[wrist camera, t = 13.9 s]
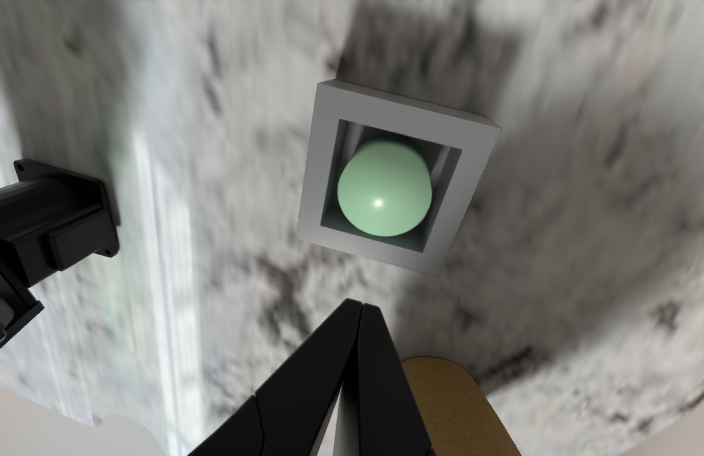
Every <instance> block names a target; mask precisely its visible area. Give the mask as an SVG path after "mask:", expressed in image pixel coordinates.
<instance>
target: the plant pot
mask: <svg viewBox="0 0 704 456" xmlns="http://www.w3.org/2000/svg"><path fill="white" fill-rule="evenodd" d="M401 364H402V367H403V369H404V372H405V374H406V377H407V379H408V382H409V385H410V387H411V390H412V392H413V395H414V398H415V400H416V403H417V405H418V408H419V410H420V413H421V416H422V418H423V421H424V423H425V426H426V429H427V431H428V434H429V436H430V439H431V441H432V444H433V446H432V448H433V449H435V451H436V454H437V456H521V454H520V452H519V450H518V449H517V447H516V445H515V444H514V442H513V440H512V439H511V437H510V435H509V434H508V432H507V430H506V429H505V427H504V425H503V424H502V422H501V421H500V419H499V417H498V416H497V414H496V413H495V411H494V409H493V408H492V406H491V405H490V403H489V402H488V400H487V399H486V397H485V396H484V394H483V393H482V391H481V390H480V389H479V387H478V386H477V384H476V383H475V381H474V380H473V378H472V377H471V376H470V374H469V373H468V372H467V371H466V370H464V369H463V368H462V367H460V366H459V365H457V364H455V363H453V362H450V361H447V360H444V359H440V358H434V357H417V358H412V359H408V360H405V361H402V362H401Z"/></svg>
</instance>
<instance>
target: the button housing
mask: <svg viewBox="0 0 704 456" xmlns="http://www.w3.org/2000/svg"><path fill="white" fill-rule="evenodd" d="M501 130H502V128H500V127H499V126H498V125H496V124H495V123H494V122H492V121H491V120H490V119H488V118H487V117H486V116H484V115H479V114H475V113H471V112H467V111H463V110H459V109H455V108H451V107H447V106H443V105H439V104H435V103H431V102H427V101H423V100H419V99H414V98H410V97H406V96H402V95H398V94H394V93H390V92H386V91H382V90H378V89H374V88H370V87H366V86H362V85H358V84H353V83H349V82H345V81H341V80H337V79H332V80H328V81H324V82H320V83H317V90H316V97H315V104H314V111H313V118H312V126H311V133H310V140H309V147H308V154H307V161H306V169H305V176H304V183H303V190H302V197H301V204H300V211H299V219H298V226H297V233H296V239H299V240H303V241H306V242H310V243H314V244H317V245H321V246H325V247H329V248H332V249H336V250H340V251H343V252H347V253H351V254H354V255H358V256H362V257H365V258H369V259H373V260H376V261H380V262H384V263H387V264H391V265H395V266H398V267H402V268H406V269H409V270H413V271H417V272H421V273H424V274H428V275H432V276H435V277H438V274H439V272H440V270H441V267H442V265H443V263H444V261H445V258H446V256H447V254H448V251H449V249H450V247H451V245H452V242H453V240H454V238H455V235H456V233H457V231H458V228H459V226H460V224H461V222H462V219H463V217H464V215H465V212H466V210H467V208H468V206H469V203H470V201H471V199H472V196H473V194H474V192H475V189H476V187H477V185H478V183H479V180H480V178H481V176H482V173H483V171H484V169H485V167H486V164H487V162H488V160H489V157H490V155H491V153H492V150H493V148H494V146H495V144H496V141H497V139H498V137H499V134H500V132H501ZM387 134H389V135H398V136H401V137H404V138H406V139H408V140H410V141H412V142H413V143H414V144H415V145H417V146H418V147H419V149H420V150H421V151H422V153H423V154H424V156H425V158H426V160H427V164H428V169H429V176H430V183H431V189H432V197H431V203H430V206H429V209H428V211H427V213H426V215H425V216H424V218H423V219H422V220H421V222H420V223H418V224H417V225H416V226H415V227H414V228H412V229H411V230H409V231H407V232H405V233H402V234H399V235H395V236H377V235H372V234H369V233H366V232H364V231H362V230H360V229H359V228H357V227H356V226H354V225H353V224H352V223H351V222H350V221H349V220H348V219H347V217H346V216H345V215H344V213H343V211H342V209H341V207H340V204H339V200H338V183H339V180H340V177H341V174H342V172H343V171H344V169H345V167H346V166H347V164H348V163H349V161H350V159H351V158H352V156H353V154H354V153H355V151H356V150H357V149H358V148H359V147H360V146H361V145H362V144H363V143H364V142H366V141H367V140H369V139H371V138H373V137H376V136H380V135H387Z"/></svg>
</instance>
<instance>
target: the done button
mask: <svg viewBox="0 0 704 456" xmlns="http://www.w3.org/2000/svg"><path fill="white" fill-rule="evenodd" d="M431 197H432V189H431V183H430V176H429V169H428V164H427V160H426V158H425V156H424V154H423V153H422V151H421V150H420V149H419V147H418V146H417V145H415V144H414V143H413V142H412V141H410V140H408V139H406V138H404V137H401V136H398V135H389V134H387V135H380V136H376V137H373V138H371V139H369V140H367V141H366V142H364V143H363V144H362V145H361V146H360V147H359V148H358V149H357V150H356V151H355V153H354V154H353V156H352V158H351V159H350V161H349V163H348V164H347V166H346V167H345V169H344V171H343V172H342V174H341V177H340V180H339V183H338V200H339V204H340V207H341V209H342V211H343V213H344V215H345V216H346V217H347V219H348V220H349V221H350V222H351V223H352V224H353V225H354V226H356V227H357V228H359V229H360V230H362V231H364V232H366V233H369V234H372V235H377V236H395V235H399V234H402V233H405V232H407V231H409V230H411V229H412V228H414V227H415V226H416V225H417V224H418V223H420V222H421V220H422V219H423V218H424V216H425V215H426V213H427V211H428V209H429V206H430V203H431Z"/></svg>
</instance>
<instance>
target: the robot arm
mask: <svg viewBox="0 0 704 456" xmlns="http://www.w3.org/2000/svg"><path fill="white" fill-rule="evenodd" d="M14 167H15V170H16V173H17V176H18V179H19V182H18V183H15V184H12V185H8V186H5V187H2V188H0V348H2V347H3V346H4V345H5V344H6V343H7V342H8V341H9V340H10V339H11V338H12V337H14V336H15V335H16V334H17V333H18V332H19V331H20V330H21V329H22V328H23V327H24V326H26V325H27V324H28V323H29V322H30V321H31V320H32V319H33V318H34V317H35V316H36V315H38V314H39V313H40V312H41V311H42V310H43V309H44V308H45V307H44V306H43V304H42V303H41V302H40V301H37V300H36V298H35V297H34V296H33V295H32V293H31V292H30V291H29V289H28V288H30V287H32V286H34V285H35V284H37V283H39V282H40V281H42V280H44V279H45V278H47V277H49V276H50V275H52V274H54V273H55V272H57V271H64V270H66V269H67V268H69V267H71V266H72V265H74V264H76V263H77V262H79V261H81V260H82V259H84V258H86V257H87V256H89V255H91V254H92V253H95V254H99V255H102V256H106V257H113V256H115V255H116V254H117V253H118V249H117V244H116V239H115V234H114V229H113V224H112V219H111V214H110V208H109V203H108V198H107V193H106V188H105V185H104V184H103V182H102V181H101V180H99V179H96V178H92V177H89V176H85V175H81V174H78V173H74V172H70V171H66V170H63V169H59V168H55V167H52V166H48V165H44V164H41V163H37V162H33V161H29V160H26V159H20V160H16V161H14ZM341 386H342V387H341ZM340 389H341V392H340ZM339 393H340V399H339V406H338V415H337V424H336V432H335V441H334V450H333V456H437V454H436V451H435V449H433V448H432V446H433V444H432V441H431V439H430V436H429V434H428V431H427V429H426V426H425V423H424V421H423V418H422V416H421V413H420V410H419V408H418V405H417V403H416V400H415V398H414V395H413V392H412V390H411V387H410V385H409V382H408V379H407V377H406V374H405V372H404V369H403V367H402V364H401V361H400V359H399V356H398V354H397V351H396V348H395V346H394V343H393V341H392V338H391V336H390V333H389V330H388V328H387V325H386V323H385V320H384V317H383V315H382V312H381V310H380V308H379V307H378V306H375V305H371V304H368V303H364V304H363V305H362V302H360V301H357V300H353V299H350V298H347V299H345V300H344V301H343V302H342V303H341V304H340V305H339V306H338V307H337V308H336V309H335V310H334V311H333V312H332V313H331V315H330V316H329V317H328V318H327V319H326V320H325V321H324V322H323V323H322V324H321V325H320V326H319V327H318V328H317V329H316V330H315V331H314V332H313V333H312V334H311V335H310V336H309V337H308V338H307V339H306V340H305V341H304V342H303V343H302V344H301V345H300V346H299V347H298V348H297V349H296V350H295V351H294V352H293V353H292V354H291V355H290V356H289V357H288V359H287V360H286V361H285V362H284V363H283V364H282V365H281V366H280V367H279V368H278V369H277V370H276V371H275V372H274V373H273V374H272V375H271V376H270V377H269V378H268V379H267V380H266V381H265V382H264V383H263V384H262V385H261V386H260V387H259V388H258V389H257V390H256V391H255V394H254V395H251V396H250V397H249V398H248V399H247V400H246V401H245V402H244V403H243V404H242V405H241V406H240V407H239V408H238V409H237V410H236V411H235V412H234V413H233V414H232V415H231V416H230V417H229V418H228V419H227V420H226V421H225V422H224V423H223V424H222V425H221V426H220V427H219V428H218V429H217V430H216V431H215V432H214V433H212V434H211V435H210V436H209V437H208V438H207V439H206V440H204V441H203V442H202V443H201V444H200V445H199V446H198V447H196V448H195V449H194V450H193V451H192V452H191V453H189V454H188V455H187V456H317V454H318V451H319V448H320V446H321V443H322V440H323V437H324V435H325V432H326V429H327V426H328V424H329V421H330V418H331V415H332V413H333V410H334V407H335V404H336V402H337V399H338V396H339Z"/></svg>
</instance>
